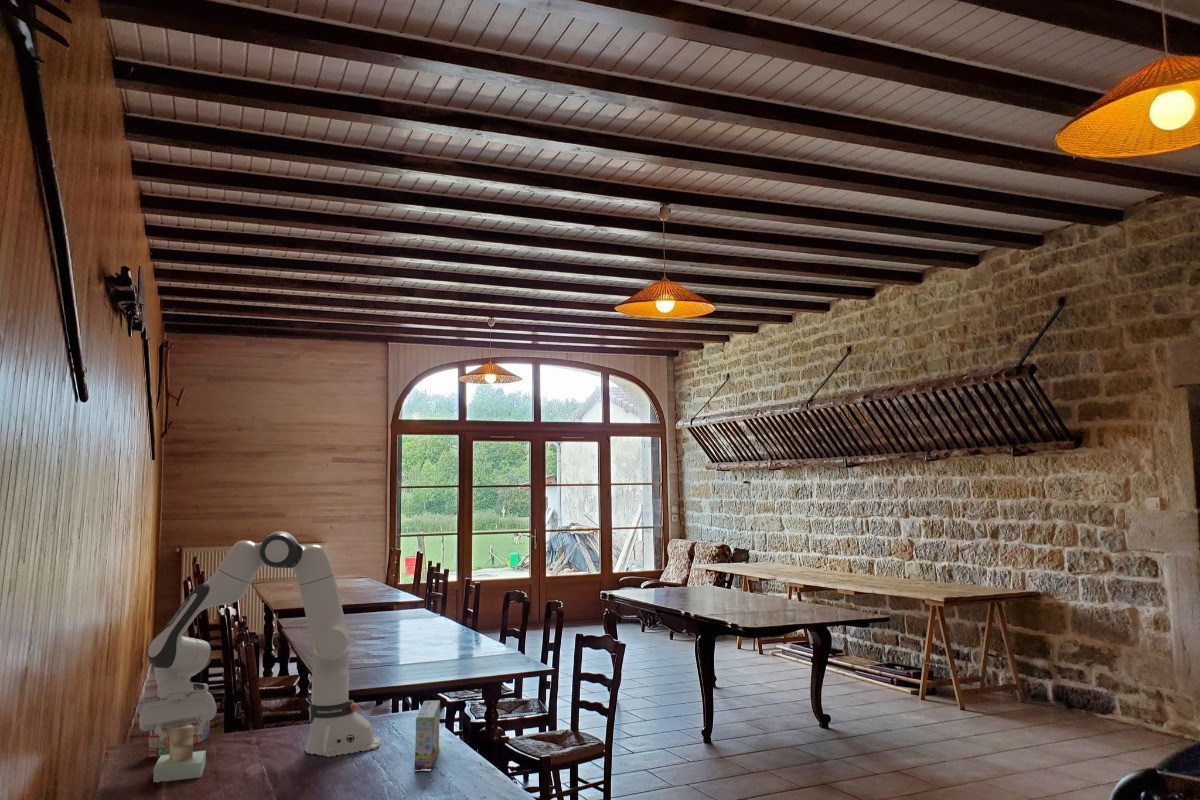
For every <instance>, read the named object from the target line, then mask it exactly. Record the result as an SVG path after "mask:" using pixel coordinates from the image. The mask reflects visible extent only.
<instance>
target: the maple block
mask: <svg viewBox="0 0 1200 800" xmlns="http://www.w3.org/2000/svg"><path fill="white" fill-rule="evenodd" d="M193 732H194V726H192V725H191V724H190V723H187V724H181V725H175V726H171V728H170V754H169V759H170V760H171V761H172V762H173V763H175V762H180V761H185V760H190V759H193V752H194V745H193Z"/></svg>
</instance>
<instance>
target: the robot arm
mask: <svg viewBox="0 0 1200 800" xmlns="http://www.w3.org/2000/svg"><path fill="white" fill-rule="evenodd" d="M264 566H268V567H270V568H274V569H292V570H293V571H294V574H295V576H296V581H297V584H298V588H299V593H300V596H301V601H302V605H303V609H304V615H305V618H306V622H307V627H308V632H309V635H310V636H309V637H310V641H311V645H312V667H311V668H312V669H311V673H312V674H311V702H310V704H309V705H310V706H309V714H308V715H309V718H308V719H309V722H310V724H309V726H310V727H309V731H308V738H307V743H306V746H305V749H304V752H305V751H306V752H305V753H307V754H309V753H310V755H313V754H317V755H316V756H322V755H323V757H325V756H326V757H327V758H330V757H331V756H332V757H337V756H336V755H338V756H343V754H344V755H349V754H348V753H350V754H354V753H355V752H356V753H360V752H359V751H362V752H366V750H367V751H372V750H371V749H373V750H376V749H378V748H380V746H381V739H380V737H379V736H377V735H375V734H374V731H373V727H372V725H371V722H370V721H369V720H368V719H366V718H364V717H363V716H362V715H360V714H359V713H357V712H356V710H357V708H358V706H357V703H356V702H355V701H354V700H353V699H349V683H350V682H349V680H350V678H349V676H350V674H349V673H350V671H349V670H350V669H349V668H350V667H349V663H350V662H349V659H350V657H349V656H350V655H349V651H350V649H349V647H350V641H351V640H350V639H351V638H350V632H349V628H348V626H347V623H346V617H345V614H344V611H343V605H342V601H341V598H340V591H339V589H338V585H337V581H336V577H335V572H334V569H333V566H332V564H331V560H330V558H329V556H328V553H327V552H326V550H325V548H324V547H323V546H321V545H319V544H308V545H302V544H300V543H299V541H298V538H297V537H296V536H295V535H294V534H292V533H291V532H288V531H275V532H272V533H269V534H268V535H267V536H266V537H265V538H264V539H263V540H262V541H260V542H254V541H252V540H246V539H245V540H243V539H241V540H238V541H237V542H235V543H234V544H233V545H232V546H231V548H230V549H229V550H228V552H227V553H226V554H225V556H224V557H223V559H222V561H220V564H219V565H218V567H217V569H216V570H215V571H214V573H213V575H211V576H210V578H208V579H207V580H206V581H205V582H203V583H201V584H199V585H197V586H196V587H194V589H193V590H192V591H191V592H190V593H189V594H188V596H187V597H186V598H185V599H184V601H183V603H182V604H181V605H180V606H179V607H178V609H177V610H176V611H175V612H174V614H173V615H172V617H171V618H170V619H169V621H168V622H167V623H166V624H165V625H164V627H163V628H162V629H161V630H160V631H159V632H158V633H157V634H156V636H154V637H153V639H152V640H151V641H150V642H149V645H148V647H147V650H146V655H147V658H148V661H149V663H150V664H151V666H152V667H153V671H154V679H155V682H156V684H157V688H156V690H157V697H156V698H155V697H154V698H151V699H143V700H141V701H140V702H138V703H137V705H136V711H137V714H139V729H140V730H141V731H142V732H147V731H148V732H149V730H154V731H155V733H156V734H157V735H158V736H160V741H165V740H167V732H163V731H162V730H161V728H166V727H171V726H175V725H181V724H187V723H194V722H198V724H200V726H197V727H196V735H198V734H202V732H203V728H202V726H203V724H204V721H206V720H210V721H211V720H213V719H214V718H215V717H216V715H217V713H218V712H217V709H218V708H217V704H216V701H215V698H214V696H213V695H212V693H210V692H209V685H208V684H207V683H200V682H194V681H193V682H192V681H190V678H192V677H194V676H196V675H197V674H199V673H200V672H202V671H203V670H205V669H206V668H207V667H208V666H209V664H210V663H211V661H212V656H213V651H212V646H211V643H210V642H208V641H207V640H203V639H199V638H195V637H190V636H185V635H184V633H185V632H186V630H187V629H188V628H189V627H190V625H191V624H192V623H193V622H194V619H195V618H196V617H197V616H198V615H199V614H200V613H201V612H203V611H204V610H206V609H209V608H211V607H217V606H223V605H224V606H225V605H231V604H234V603H237V602H238V601H240V600H241V599H242V598H243V597H244V596H245V595H246V594H247V592H248V590H249V588H250V587H251V585H252V583H253V581H254V580H255V577H256V576H257V574H258V572H259V571H260V570H261V569H262V568H263V567H264ZM377 747H378V748H377ZM341 754H342V755H341Z"/></svg>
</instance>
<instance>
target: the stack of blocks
mask: <svg viewBox="0 0 1200 800" xmlns="http://www.w3.org/2000/svg"><path fill="white" fill-rule="evenodd" d="M190 724H191V725H192V726H194V732H193V746H194V745H197V744H199V743H201V742H203V741H205V740H207V739H209V738H210V730H211V729H210V727H211V726H210V725H211V720H206V721H204V724H203V726H202V728H203V732H202V734H198V735H196V727H197V726H200V724H198V722H194V723H190ZM170 728H171V727H166V728H161V730H162V731H163V732H167V740H165V741H160V736H158V735H157V734H156V733H155V731H154V730H149V731H148V747H147V749H148V751H147V757H148V756H161V755H169V754H170ZM206 735H209V736H206Z"/></svg>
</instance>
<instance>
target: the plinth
mask: <svg viewBox="0 0 1200 800" xmlns="http://www.w3.org/2000/svg"><path fill="white" fill-rule="evenodd" d="M206 753H207V750H199V751H197V750H196V751H193V759H190V760H185V761H180V762H175V763H173V762H172V761H171V760H170V759H169V755H161V756H160V758H159V757H158V759H157V761H156V763H155V764H154V767H153V773H152V776H153V777H152V780H153V781H152V782H156V783H163V782H162V781H164V782H171V781H179V780H180V781H181V780H188V779H197V778H201V777H202V774H203V771H204V769H205V767H206V761H207V759H206V758H207V757H206ZM160 781H161V782H160Z"/></svg>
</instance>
